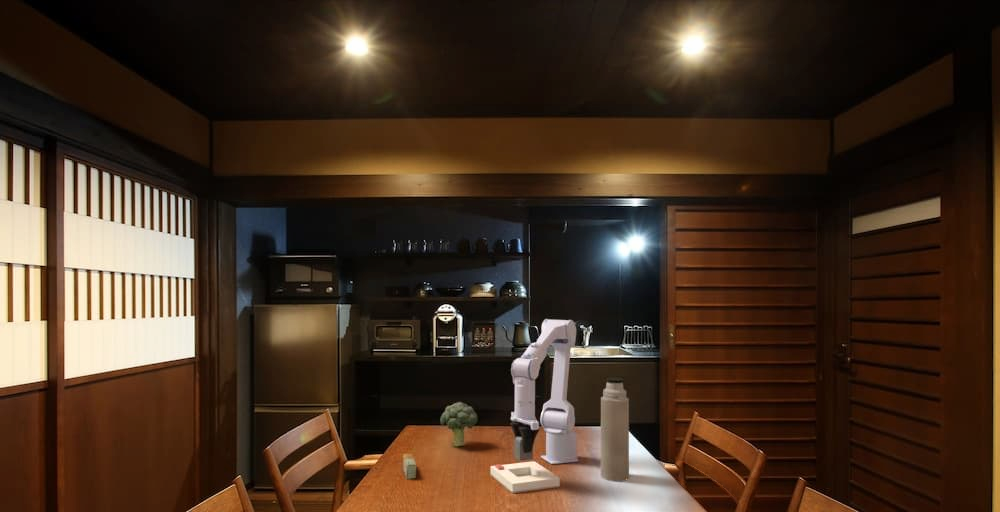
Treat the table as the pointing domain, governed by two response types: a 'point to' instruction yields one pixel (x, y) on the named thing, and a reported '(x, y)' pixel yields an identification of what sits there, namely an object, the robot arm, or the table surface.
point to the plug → (521, 450)
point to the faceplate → (524, 477)
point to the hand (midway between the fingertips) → (524, 450)
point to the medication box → (409, 466)
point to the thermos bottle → (614, 431)
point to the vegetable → (459, 420)
